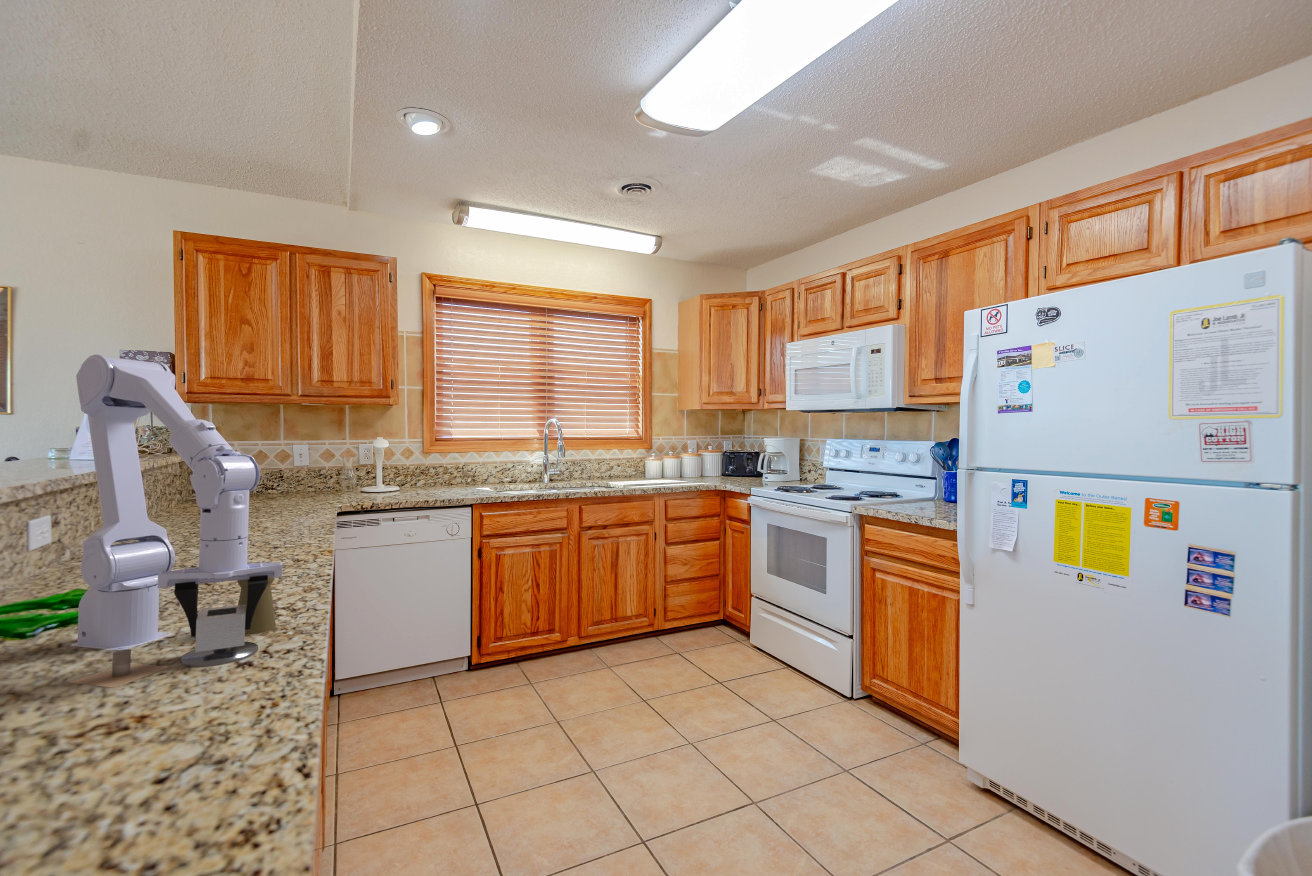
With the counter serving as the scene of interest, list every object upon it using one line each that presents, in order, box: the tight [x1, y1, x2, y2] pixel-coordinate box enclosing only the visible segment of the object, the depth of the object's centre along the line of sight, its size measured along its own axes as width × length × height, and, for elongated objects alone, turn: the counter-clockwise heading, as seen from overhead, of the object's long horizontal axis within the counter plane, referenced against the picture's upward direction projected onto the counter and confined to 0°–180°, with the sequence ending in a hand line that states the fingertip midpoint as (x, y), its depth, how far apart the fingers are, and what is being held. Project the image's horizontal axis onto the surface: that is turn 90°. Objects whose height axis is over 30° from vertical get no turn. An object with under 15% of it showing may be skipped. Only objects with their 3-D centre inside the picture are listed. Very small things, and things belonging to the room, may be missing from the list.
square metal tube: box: [195, 604, 246, 652], centre depth 86 cm, size 6×6×4 cm
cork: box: [236, 577, 277, 636], centre depth 98 cm, size 6×6×11 cm
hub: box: [180, 641, 259, 668], centre depth 86 cm, size 9×9×4 cm
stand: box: [69, 648, 170, 689], centre depth 79 cm, size 7×7×4 cm
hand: (221, 631), depth 86 cm, fingers closed on square metal tube, 6 cm apart
